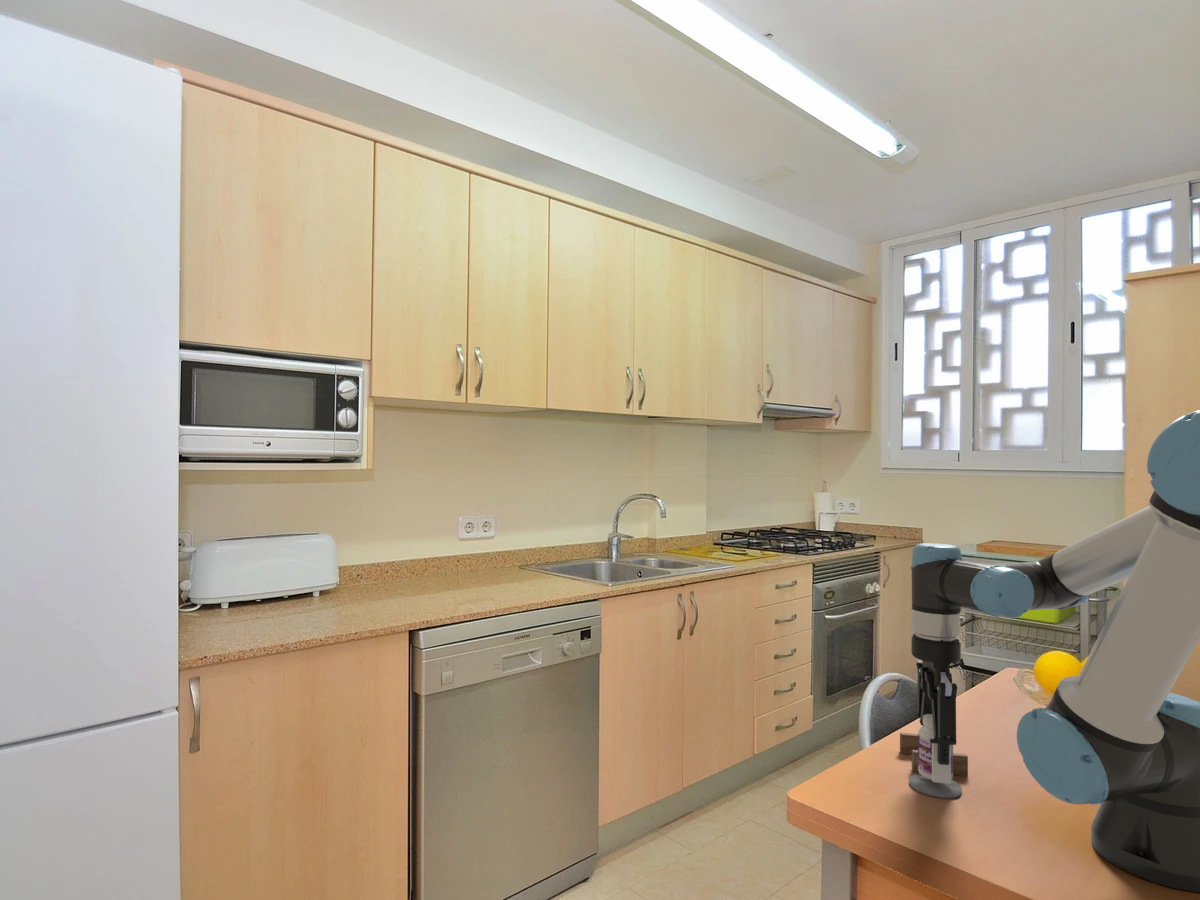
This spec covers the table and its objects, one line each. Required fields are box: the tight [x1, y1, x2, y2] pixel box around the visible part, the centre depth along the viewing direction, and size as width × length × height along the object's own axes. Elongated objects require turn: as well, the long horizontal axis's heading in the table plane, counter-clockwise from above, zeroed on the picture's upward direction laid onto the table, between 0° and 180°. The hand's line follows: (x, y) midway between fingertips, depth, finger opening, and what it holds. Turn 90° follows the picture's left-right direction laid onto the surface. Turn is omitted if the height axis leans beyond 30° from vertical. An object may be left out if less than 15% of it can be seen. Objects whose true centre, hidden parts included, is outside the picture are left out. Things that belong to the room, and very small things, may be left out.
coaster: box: [908, 772, 963, 800], centre depth 116 cm, size 8×8×1 cm
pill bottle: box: [917, 714, 954, 780], centre depth 116 cm, size 5×5×10 cm
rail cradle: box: [899, 732, 969, 777], centre depth 125 cm, size 9×9×4 cm
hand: (935, 773), depth 116 cm, fingers closed on pill bottle, 5 cm apart
